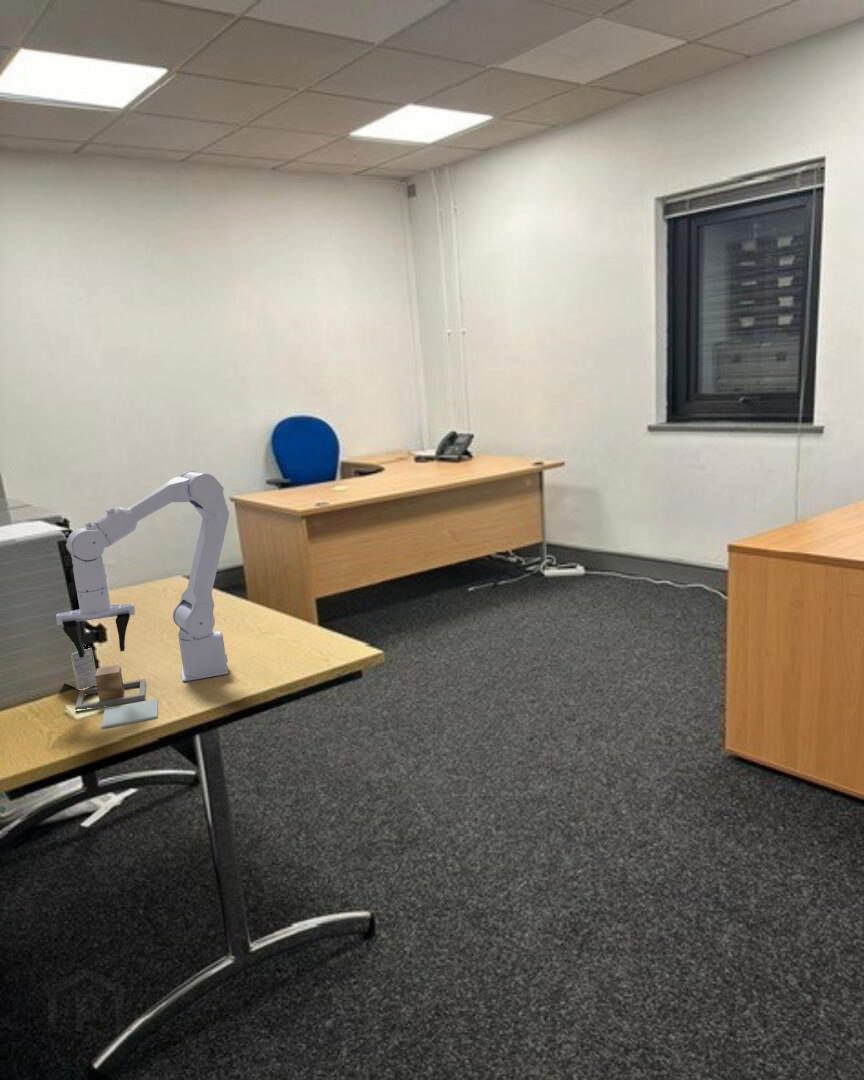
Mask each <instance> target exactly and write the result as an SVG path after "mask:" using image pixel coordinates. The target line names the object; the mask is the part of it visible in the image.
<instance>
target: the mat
mask: <svg viewBox="0 0 864 1080" xmlns="http://www.w3.org/2000/svg"><path fill="white" fill-rule="evenodd" d="M158 709H159V699H158V698H154V699H148V700H140V701H135V702H129V703H124V704H119V705H113V706H108V707H104V710H103V711H104V712H103V715H102V722H101V729H106V727H107V728H109V727H117V726H121V725H126V724H127V725H128V724H131V723H137V722H142V721H143V722H144V721H147V720H152V719H158V718H159V712H158V711H159V710H158Z"/></svg>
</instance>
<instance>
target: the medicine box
mask: <svg viewBox="0 0 864 1080" xmlns="http://www.w3.org/2000/svg"><path fill="white" fill-rule="evenodd" d="M84 653H85V654H84V657H81V658H80V657H79V654H78V651H77V652H75V653H72V654H71V661H72V666H73V671H74V675H75V681H76V686H77V688H78V689H83V688H87V687H91V686H94V687H97V686H96V685H97V683H96V678H95V675H96V671H97V668H96V664H95V663H96V662H95V657H94V652H93V648H92V647H90V648H88V649H84ZM91 688H92V687H91Z"/></svg>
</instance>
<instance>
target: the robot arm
mask: <svg viewBox="0 0 864 1080" xmlns="http://www.w3.org/2000/svg"><path fill="white" fill-rule="evenodd" d="M224 489H225V488H224V486H222V484H221V483H220V482H219V480H218V479H217V478H216V477H215V476H213V475H212V474H209V473H201V472H197V471H195V470H187V471H185V472H183V473H181V475H180V476H175V477H173V478H171V479H170V480H168V481H167V482H165V483H164V484H162V485H161V486H159V487H158V488H156V489H155V490H153V491H152V492H150V493H149V494H147V495H145V496H144V497H143V498H141V499H140V500H138V501H137V502H135V503H134V504H132V505H131V506H128V507H127V508H126V507H123V506H117V507H115V508H114V507H109V508H107V509H106V511H105V512H106V514H104V515H102V516H100V517H99V518H97V519H95V520H94V521H93V522H91V521H88V522H86V523H84V526H85V528H83V527H82V528H77V529H75V530H73V531H71V533H70V534H69V535H68V536H67V540H66V544H65V547H66V549H67V551H68V552H69V553H70V554H71V562H72V571H73V577H74V583H75V590H76V594H77V595H76V596H77V600H78V601H77V602H78V608H79V609H75V610H69V611H65V612H59V613H57V614H56V615H55V620H56V625H57V626H62V625H63V627H62V630H63V632H64V633H65V634H66V635H67V637H68V638H69V640H71V643H73V644H74V645H75V647H76V649H77V651H78V654H79V657H80V658H81V657H84V654H85V653H84V647H83V645H84V642H83V639H82V631H81V622H83V621H85V622H86V621H91V620H92V621H93V620H99V619H107V618H112V617H113V618H114V617H115V625H116V630H117V635H118V643H119V644H118V645H119V646H118V647H119V651H120V652H125V649H126V647H125V646H126V645H125V642H126V633H127V628H128V624H129V621H130V618H131V616H135V614H136V608H135V606H136V605H135V603H123V604H122V603H121V604H120V603H119V604H111V602H110V601H111V600H110V594H109V587H108V582H107V576H106V568H105V564H104V560H103V556H102V555H103V553H104V551H105V549H106V548H109V547H110V546H113V545H114V544H116V543H117V542H119V541H120V540H122V539H124V538H125V537H127V536H128V535H130V534H131V533H133V532H135V531H136V530H137V529H136V528H137V524H138V522H139V521H141V520H142V519H145V518H147V517H149V516H150V515H151V514H155V512H157V511H159V510H161V509H162V508H165V507H166V506H168V505H170V504H172V503H190V504H191V505H192V506H194V508H195V509H196V511H197V512H198V514H200V516H201V517H202V520H201V524H200V528H199V533H198V539H197V542H196V543H197V544H196V548H195V552H194V556H193V559H192V564H191V569H190V574H189V579H188V583H187V587H186V588H185V590H184V591H183V592H182V593H181V596H180V600H179V602H178V603H177V605H176V606H175V608H174V610H173V613H172V620H173V623H174V624H175V625H176V626H177V627H178V628H179V632H178V642H179V649H180V657H181V663H182V668H181V680H182V682H188V681H189V682H190V681H195V680H200V679H205V678H210V677H217V676H222V675H227V674H228V673H229V671H228V664H227V663H228V662H229V661H228V655H227V654H226V648H225V641H224V636H223V631H222V630H213V629H214V628H215V624H216V620H215V615H214V609H215V602H214V598H213V589H214V585H215V580H216V576H217V571H218V568H219V567H218V566H219V563H220V557H221V553H222V548H223V544H224V540H225V536H226V535H225V534H226V531H227V526H228V523H229V522H228V521H229V517H230V511H229V508H228V505H227V501H226V498H225V495H224Z"/></svg>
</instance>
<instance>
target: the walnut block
mask: <svg viewBox="0 0 864 1080" xmlns="http://www.w3.org/2000/svg"><path fill="white" fill-rule="evenodd" d="M121 667H122V666H121V664H116V665H111V666H110V665H109V666H104V667H98V668H96V675H95V678H96V683H97V686H96V687H97V689H98V693H97V695H98V699H99V700H98V701H104V700H109V699H115V698H121V697H125V689H124V685H123V683H124V681H123V676H122V675H123V674H122V668H121Z"/></svg>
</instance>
